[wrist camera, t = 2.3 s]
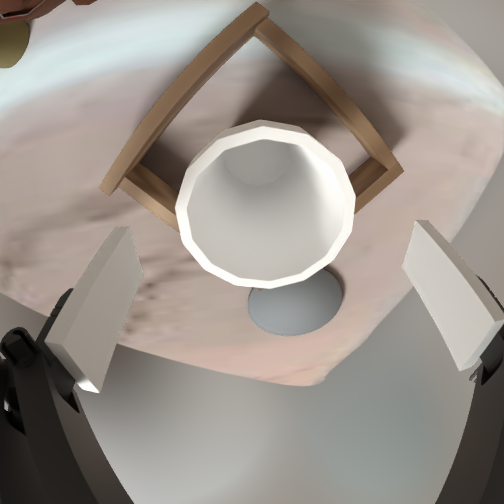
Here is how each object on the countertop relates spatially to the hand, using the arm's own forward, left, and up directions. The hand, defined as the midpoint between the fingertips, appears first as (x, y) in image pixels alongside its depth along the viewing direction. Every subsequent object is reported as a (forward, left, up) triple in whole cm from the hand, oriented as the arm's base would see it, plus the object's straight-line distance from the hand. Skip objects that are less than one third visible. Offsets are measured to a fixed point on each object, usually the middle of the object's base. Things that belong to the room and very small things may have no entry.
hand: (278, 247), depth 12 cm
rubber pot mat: (+16, -10, -16) cm, 25 cm away
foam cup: (0, 0, -16) cm, 16 cm away
